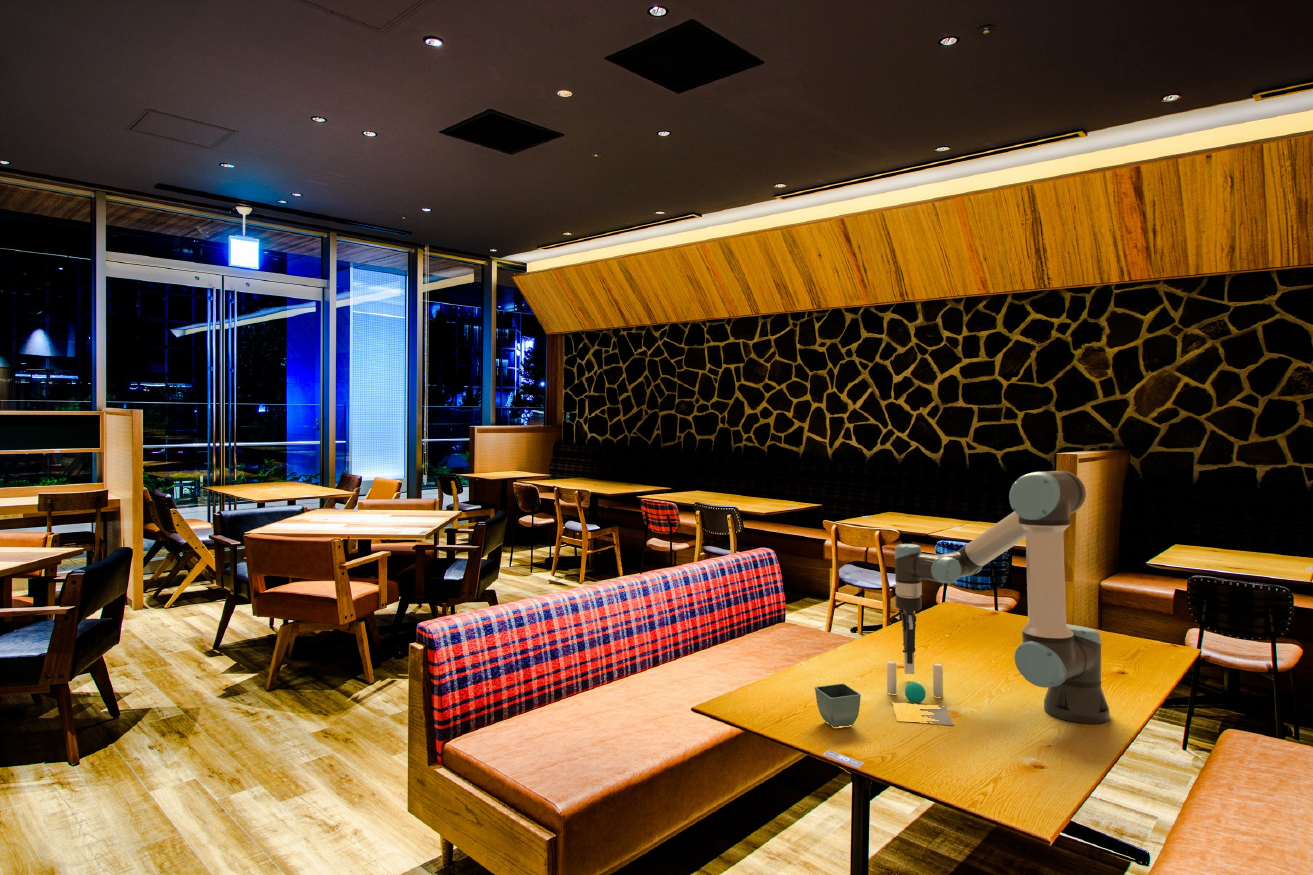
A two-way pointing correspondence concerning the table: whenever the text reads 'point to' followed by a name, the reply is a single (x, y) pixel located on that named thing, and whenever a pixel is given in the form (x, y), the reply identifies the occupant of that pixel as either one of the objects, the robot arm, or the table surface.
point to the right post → (938, 680)
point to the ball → (915, 692)
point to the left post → (891, 677)
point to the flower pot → (838, 704)
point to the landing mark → (939, 716)
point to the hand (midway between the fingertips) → (909, 672)
